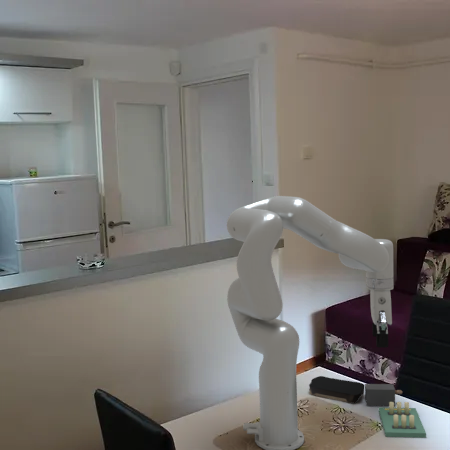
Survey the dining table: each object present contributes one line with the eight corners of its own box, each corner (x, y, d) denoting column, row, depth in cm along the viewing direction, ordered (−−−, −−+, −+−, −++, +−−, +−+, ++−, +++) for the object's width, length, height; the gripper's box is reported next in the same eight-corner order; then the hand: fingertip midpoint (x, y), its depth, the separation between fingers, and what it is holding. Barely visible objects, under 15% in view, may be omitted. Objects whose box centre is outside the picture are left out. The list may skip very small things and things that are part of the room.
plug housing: (366, 406, 172) (366, 389, 171) (365, 400, 176) (364, 383, 175) (403, 406, 171) (403, 389, 170) (401, 400, 175) (401, 384, 174)
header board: (385, 436, 153) (385, 420, 153) (378, 411, 168) (378, 396, 168) (426, 437, 152) (426, 421, 152) (415, 412, 167) (415, 397, 166)
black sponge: (367, 395, 180) (367, 383, 180) (357, 406, 173) (357, 393, 173) (317, 386, 189) (316, 374, 189) (305, 395, 182) (305, 384, 182)
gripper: (397, 290, 160) (398, 351, 162) (389, 276, 177) (389, 332, 179) (369, 290, 161) (369, 351, 163) (363, 276, 178) (364, 332, 180)
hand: (380, 341), depth 171 cm, fingers open, 9 cm apart
